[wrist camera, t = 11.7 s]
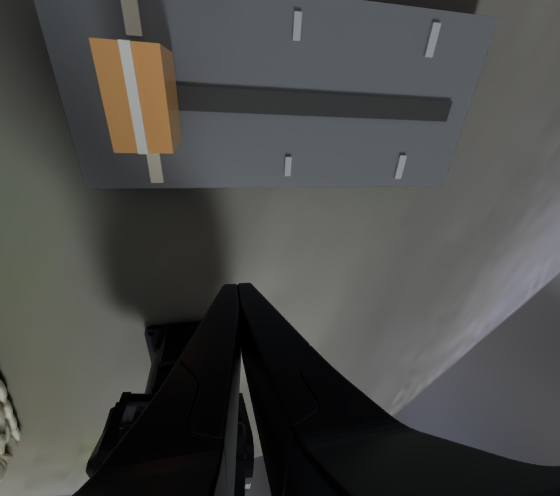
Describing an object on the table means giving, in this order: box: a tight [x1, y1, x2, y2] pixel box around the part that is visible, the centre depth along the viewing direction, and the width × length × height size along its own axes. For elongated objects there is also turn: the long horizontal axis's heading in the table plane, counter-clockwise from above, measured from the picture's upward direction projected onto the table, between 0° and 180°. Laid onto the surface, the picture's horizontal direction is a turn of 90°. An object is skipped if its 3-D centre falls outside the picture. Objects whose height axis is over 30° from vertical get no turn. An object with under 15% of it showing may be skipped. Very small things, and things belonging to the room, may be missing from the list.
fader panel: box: [33, 0, 499, 189], centre depth 18 cm, size 10×24×2 cm, turn 87°
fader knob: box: [89, 38, 182, 154], centre depth 13 cm, size 4×2×4 cm, turn 177°
